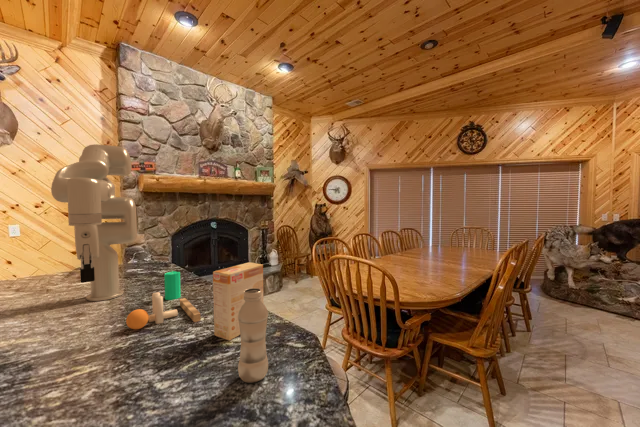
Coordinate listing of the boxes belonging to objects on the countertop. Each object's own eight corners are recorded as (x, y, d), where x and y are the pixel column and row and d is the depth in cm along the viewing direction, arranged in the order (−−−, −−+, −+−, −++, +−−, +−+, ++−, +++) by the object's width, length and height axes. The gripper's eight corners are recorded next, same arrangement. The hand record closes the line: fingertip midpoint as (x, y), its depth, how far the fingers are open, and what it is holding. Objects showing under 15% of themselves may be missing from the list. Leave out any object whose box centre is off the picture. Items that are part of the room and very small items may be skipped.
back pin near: (154, 322, 94) (154, 296, 93) (162, 320, 95) (162, 295, 95) (155, 324, 92) (155, 298, 91) (164, 322, 93) (163, 297, 93)
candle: (174, 300, 115) (173, 271, 114) (161, 299, 116) (160, 270, 115) (183, 295, 121) (183, 267, 120) (171, 294, 122) (171, 267, 121)
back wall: (179, 305, 109) (179, 299, 109) (185, 304, 110) (185, 297, 110) (194, 322, 93) (194, 314, 93) (200, 320, 95) (200, 313, 95)
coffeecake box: (249, 317, 97) (248, 261, 96) (264, 322, 93) (264, 264, 93) (212, 335, 84) (211, 270, 83) (229, 341, 81) (228, 274, 80)
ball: (148, 316, 94) (126, 319, 91) (149, 304, 91) (127, 306, 88) (148, 331, 90) (125, 335, 86) (149, 318, 87) (126, 321, 84)
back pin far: (152, 317, 98) (151, 293, 97) (160, 315, 99) (159, 291, 99) (153, 319, 96) (152, 295, 95) (161, 317, 97) (160, 293, 97)
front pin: (148, 314, 95) (176, 308, 100) (148, 321, 95) (176, 314, 100) (149, 316, 93) (177, 310, 98) (149, 323, 93) (177, 316, 98)
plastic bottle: (241, 370, 66) (239, 286, 66) (270, 368, 67) (269, 285, 66) (235, 388, 60) (233, 295, 59) (267, 386, 61) (266, 294, 60)
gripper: (102, 220, 79) (104, 284, 80) (101, 218, 91) (102, 274, 92) (66, 222, 75) (69, 290, 76) (70, 219, 86) (72, 278, 87)
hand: (87, 281), depth 84 cm, fingers closed
